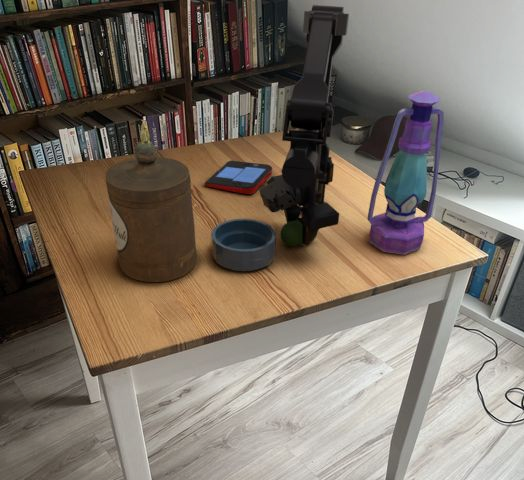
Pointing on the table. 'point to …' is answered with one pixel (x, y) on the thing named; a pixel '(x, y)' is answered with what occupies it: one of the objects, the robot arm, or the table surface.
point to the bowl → (243, 244)
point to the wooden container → (152, 217)
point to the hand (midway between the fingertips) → (298, 238)
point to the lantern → (407, 179)
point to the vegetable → (144, 140)
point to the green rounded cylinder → (292, 233)
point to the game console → (240, 177)
